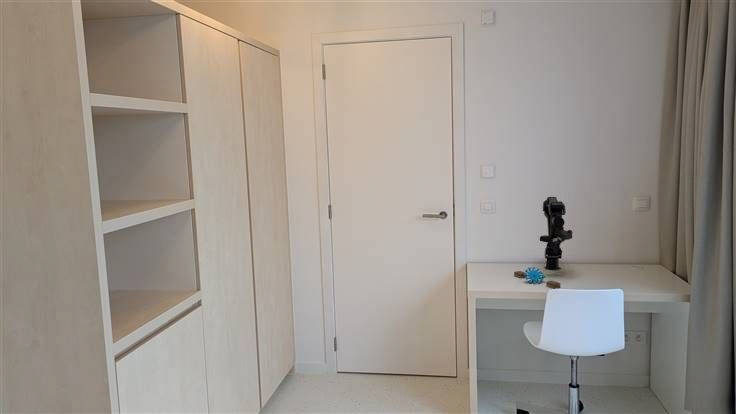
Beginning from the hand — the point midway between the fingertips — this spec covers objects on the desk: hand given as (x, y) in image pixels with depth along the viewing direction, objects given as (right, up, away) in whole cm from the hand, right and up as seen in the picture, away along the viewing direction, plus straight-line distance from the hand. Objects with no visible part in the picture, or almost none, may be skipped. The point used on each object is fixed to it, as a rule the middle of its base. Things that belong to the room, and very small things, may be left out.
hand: (555, 252), depth 297 cm
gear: (-15, -15, -12) cm, 24 cm away
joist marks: (-14, -14, -11) cm, 23 cm away
